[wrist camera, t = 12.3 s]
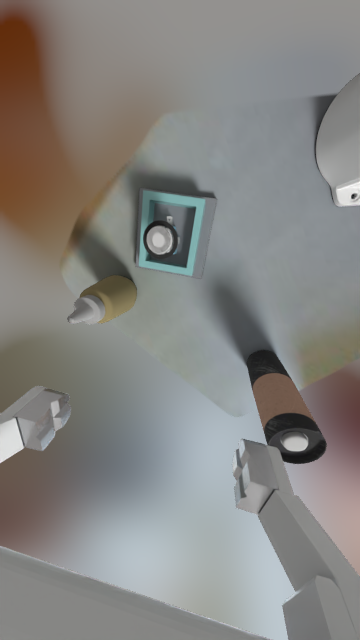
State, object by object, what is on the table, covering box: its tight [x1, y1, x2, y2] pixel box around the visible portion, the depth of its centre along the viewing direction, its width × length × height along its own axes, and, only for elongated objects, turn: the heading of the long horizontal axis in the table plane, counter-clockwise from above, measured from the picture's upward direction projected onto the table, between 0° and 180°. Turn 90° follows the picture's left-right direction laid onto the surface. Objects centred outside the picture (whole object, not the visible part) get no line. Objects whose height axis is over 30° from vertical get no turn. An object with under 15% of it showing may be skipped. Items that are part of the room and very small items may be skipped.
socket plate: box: [135, 188, 217, 279], centre depth 35 cm, size 14×14×4 cm
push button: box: [143, 216, 180, 259], centre depth 32 cm, size 7×5×10 cm
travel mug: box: [247, 350, 327, 464], centre depth 35 cm, size 8×8×20 cm
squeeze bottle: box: [67, 275, 137, 324], centre depth 35 cm, size 8×8×18 cm
